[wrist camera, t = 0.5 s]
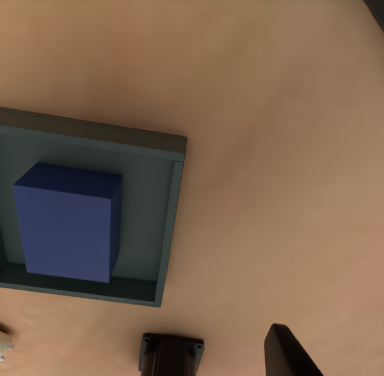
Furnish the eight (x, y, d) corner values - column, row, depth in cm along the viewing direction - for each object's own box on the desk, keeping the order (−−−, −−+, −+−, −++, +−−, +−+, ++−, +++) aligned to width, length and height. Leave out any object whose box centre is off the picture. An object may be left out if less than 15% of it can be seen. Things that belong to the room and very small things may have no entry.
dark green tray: (164, 282, 28) (160, 308, 25) (5, 261, 27) (-14, 285, 24) (187, 136, 20) (185, 153, 18) (-28, 102, 20) (-60, 115, 17)
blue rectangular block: (119, 253, 25) (109, 283, 22) (46, 243, 25) (26, 272, 22) (122, 175, 21) (111, 199, 19) (36, 162, 21) (12, 184, 18)
